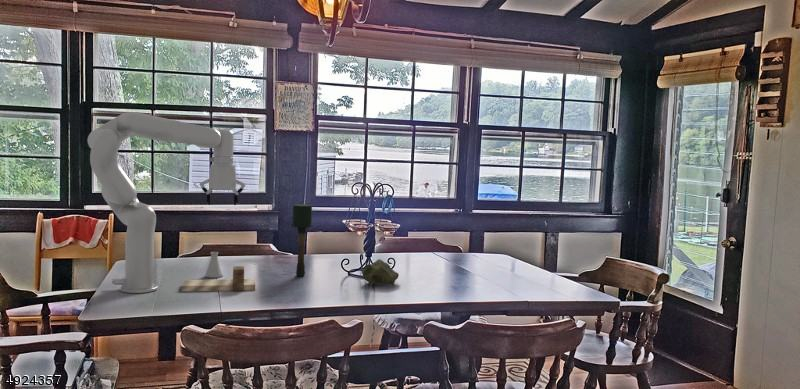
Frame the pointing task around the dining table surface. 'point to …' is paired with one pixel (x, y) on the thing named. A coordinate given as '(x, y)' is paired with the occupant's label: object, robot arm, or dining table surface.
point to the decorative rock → (379, 273)
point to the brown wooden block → (238, 278)
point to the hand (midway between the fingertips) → (222, 204)
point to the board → (215, 285)
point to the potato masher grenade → (301, 231)
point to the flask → (214, 267)
